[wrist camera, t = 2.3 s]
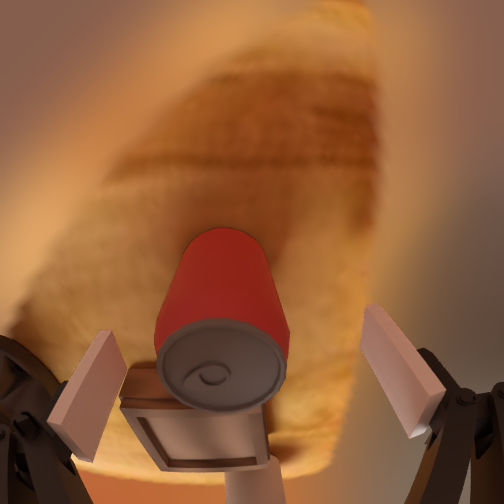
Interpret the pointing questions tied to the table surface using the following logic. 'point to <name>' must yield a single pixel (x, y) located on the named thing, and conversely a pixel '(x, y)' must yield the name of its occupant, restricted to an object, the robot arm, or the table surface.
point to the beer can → (222, 326)
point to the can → (255, 485)
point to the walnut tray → (192, 430)
